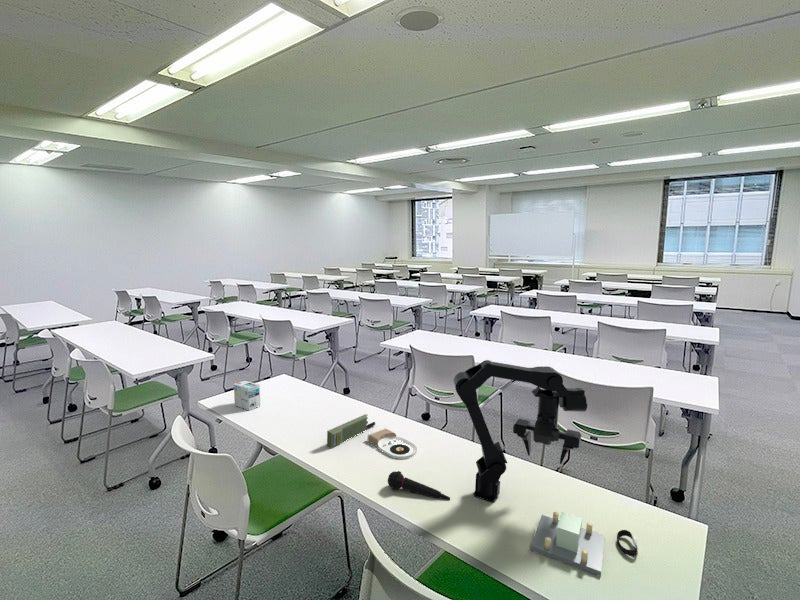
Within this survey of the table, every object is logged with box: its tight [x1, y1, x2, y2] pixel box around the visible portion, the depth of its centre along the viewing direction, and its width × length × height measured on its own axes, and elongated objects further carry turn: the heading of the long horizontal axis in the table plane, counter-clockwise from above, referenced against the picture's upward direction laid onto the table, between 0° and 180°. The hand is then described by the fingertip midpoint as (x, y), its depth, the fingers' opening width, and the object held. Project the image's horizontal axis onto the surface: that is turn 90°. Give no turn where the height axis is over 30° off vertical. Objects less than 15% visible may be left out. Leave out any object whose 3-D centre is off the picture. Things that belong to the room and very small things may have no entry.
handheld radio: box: [326, 413, 376, 449], centre depth 163 cm, size 7×3×25 cm
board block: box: [556, 511, 583, 553], centre depth 105 cm, size 5×7×5 cm
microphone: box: [387, 470, 451, 501], centre depth 126 cm, size 6×6×20 cm
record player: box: [367, 427, 418, 460], centre depth 155 cm, size 12×3×20 cm
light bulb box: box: [233, 380, 261, 411], centre depth 190 cm, size 11×7×11 cm, turn 58°
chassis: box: [530, 511, 606, 577], centre depth 105 cm, size 16×14×4 cm
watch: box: [616, 529, 639, 557], centre depth 105 cm, size 8×5×4 cm, turn 165°
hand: (544, 459), depth 124 cm, fingers open, 9 cm apart
